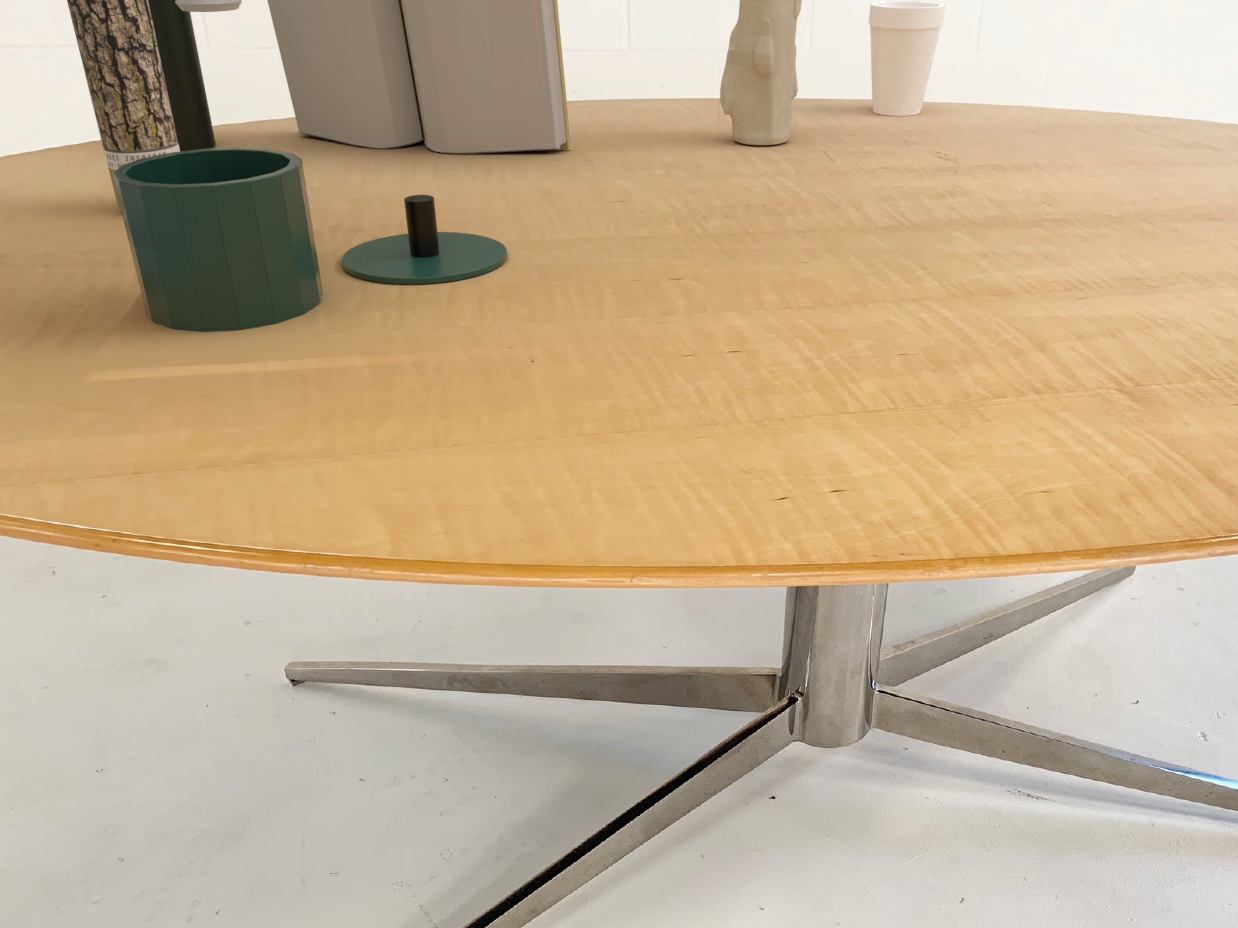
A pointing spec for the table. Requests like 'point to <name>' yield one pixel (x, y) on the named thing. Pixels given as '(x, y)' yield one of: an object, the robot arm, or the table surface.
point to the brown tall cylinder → (124, 79)
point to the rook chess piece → (208, 5)
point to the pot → (220, 237)
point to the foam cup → (902, 53)
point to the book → (426, 73)
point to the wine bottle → (182, 75)
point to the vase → (761, 71)
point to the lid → (424, 252)
